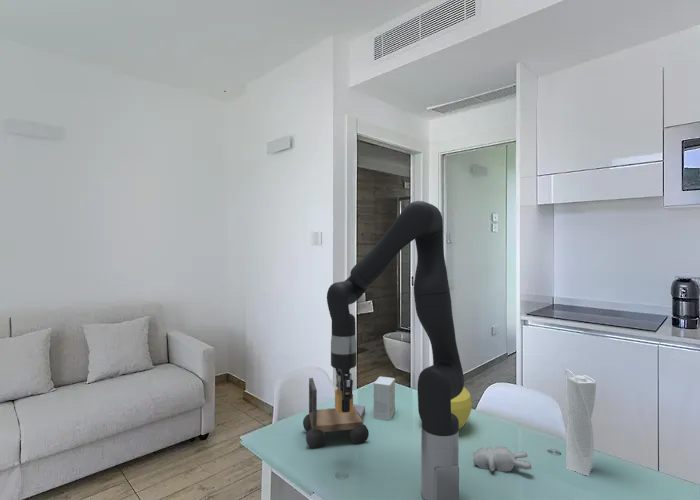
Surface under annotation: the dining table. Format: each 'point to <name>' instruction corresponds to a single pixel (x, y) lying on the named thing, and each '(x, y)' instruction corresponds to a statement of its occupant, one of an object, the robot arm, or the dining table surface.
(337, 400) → the block
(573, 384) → the skyscraper
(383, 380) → the small box
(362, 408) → the stone block
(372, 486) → the dining table surface
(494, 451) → the bunny figurine
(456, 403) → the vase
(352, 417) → the trolley
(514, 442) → the dining table surface
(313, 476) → the dining table surface
